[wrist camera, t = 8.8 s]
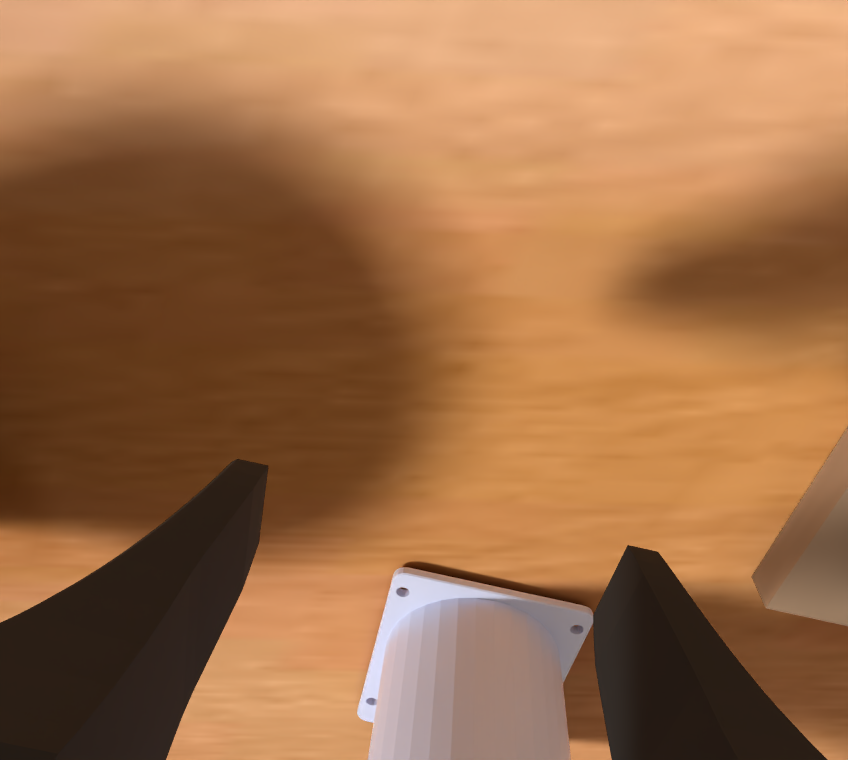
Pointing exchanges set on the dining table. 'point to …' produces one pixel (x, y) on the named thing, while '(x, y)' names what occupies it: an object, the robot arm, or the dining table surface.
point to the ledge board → (812, 549)
